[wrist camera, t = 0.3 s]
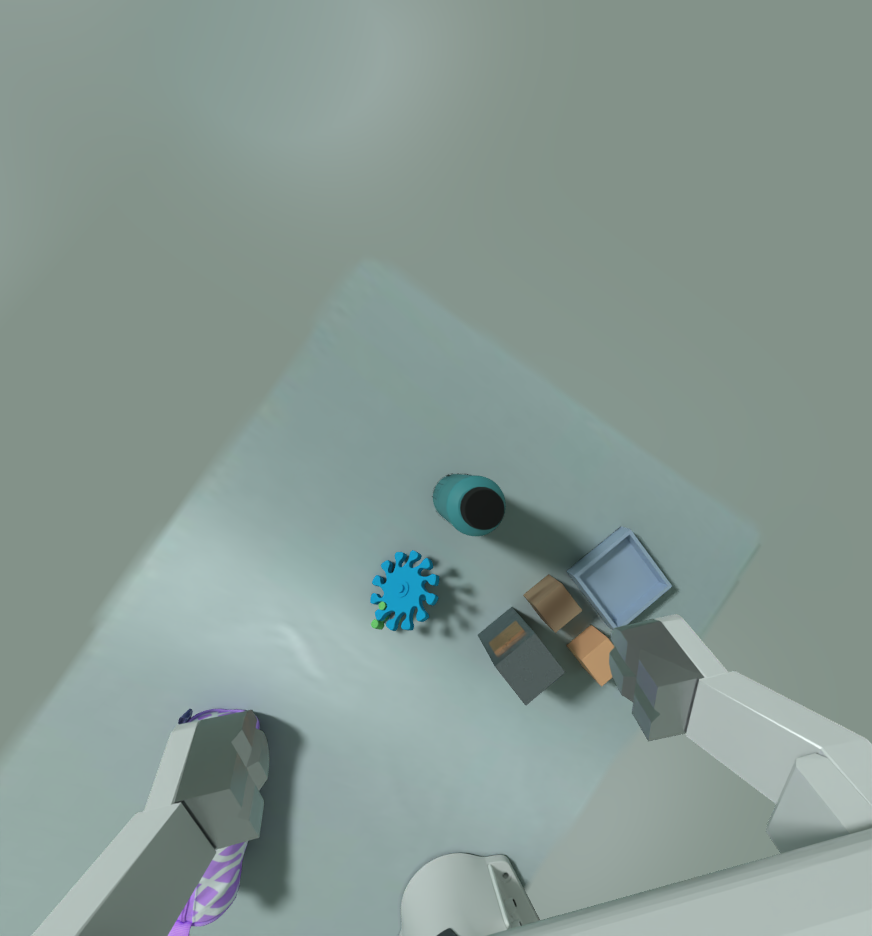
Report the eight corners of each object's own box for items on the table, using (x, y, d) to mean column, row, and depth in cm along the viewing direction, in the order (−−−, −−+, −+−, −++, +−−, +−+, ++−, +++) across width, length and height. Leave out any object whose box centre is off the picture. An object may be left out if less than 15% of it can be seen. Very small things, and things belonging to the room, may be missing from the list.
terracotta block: (609, 649, 67) (627, 664, 62) (585, 669, 66) (601, 686, 61) (590, 624, 66) (607, 637, 61) (566, 645, 66) (581, 660, 61)
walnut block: (567, 599, 66) (582, 610, 61) (542, 619, 65) (555, 632, 61) (548, 574, 66) (561, 583, 61) (523, 594, 65) (534, 605, 60)
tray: (661, 581, 67) (672, 586, 65) (607, 626, 66) (617, 633, 64) (620, 526, 66) (630, 529, 64) (566, 571, 66) (573, 575, 63)
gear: (406, 533, 62) (448, 588, 55) (430, 545, 66) (471, 597, 60) (350, 593, 62) (385, 655, 56) (377, 601, 67) (413, 659, 60)
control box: (538, 642, 65) (566, 674, 55) (505, 670, 65) (527, 707, 55) (510, 604, 65) (533, 630, 55) (475, 632, 64) (492, 663, 54)
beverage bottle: (446, 529, 64) (474, 559, 44) (420, 487, 63) (437, 498, 43) (486, 504, 64) (533, 523, 44) (462, 462, 64) (497, 462, 44)
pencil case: (194, 696, 61) (160, 739, 51) (269, 698, 62) (248, 740, 52) (180, 868, 61) (143, 942, 51) (255, 867, 62) (232, 940, 52)
